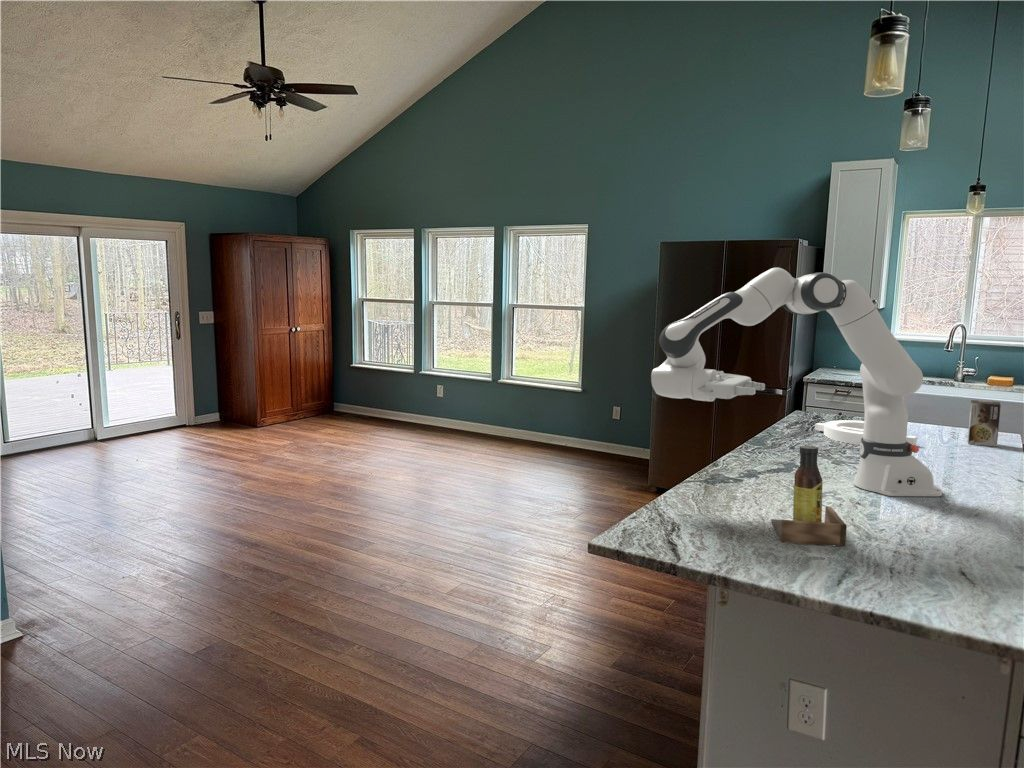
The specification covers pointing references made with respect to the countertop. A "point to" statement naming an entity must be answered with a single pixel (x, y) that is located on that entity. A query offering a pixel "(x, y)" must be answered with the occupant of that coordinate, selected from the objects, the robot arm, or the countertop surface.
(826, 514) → the corner arena
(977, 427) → the food box
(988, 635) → the countertop surface
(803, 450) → the sauce bottle
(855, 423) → the ring with crossbar
